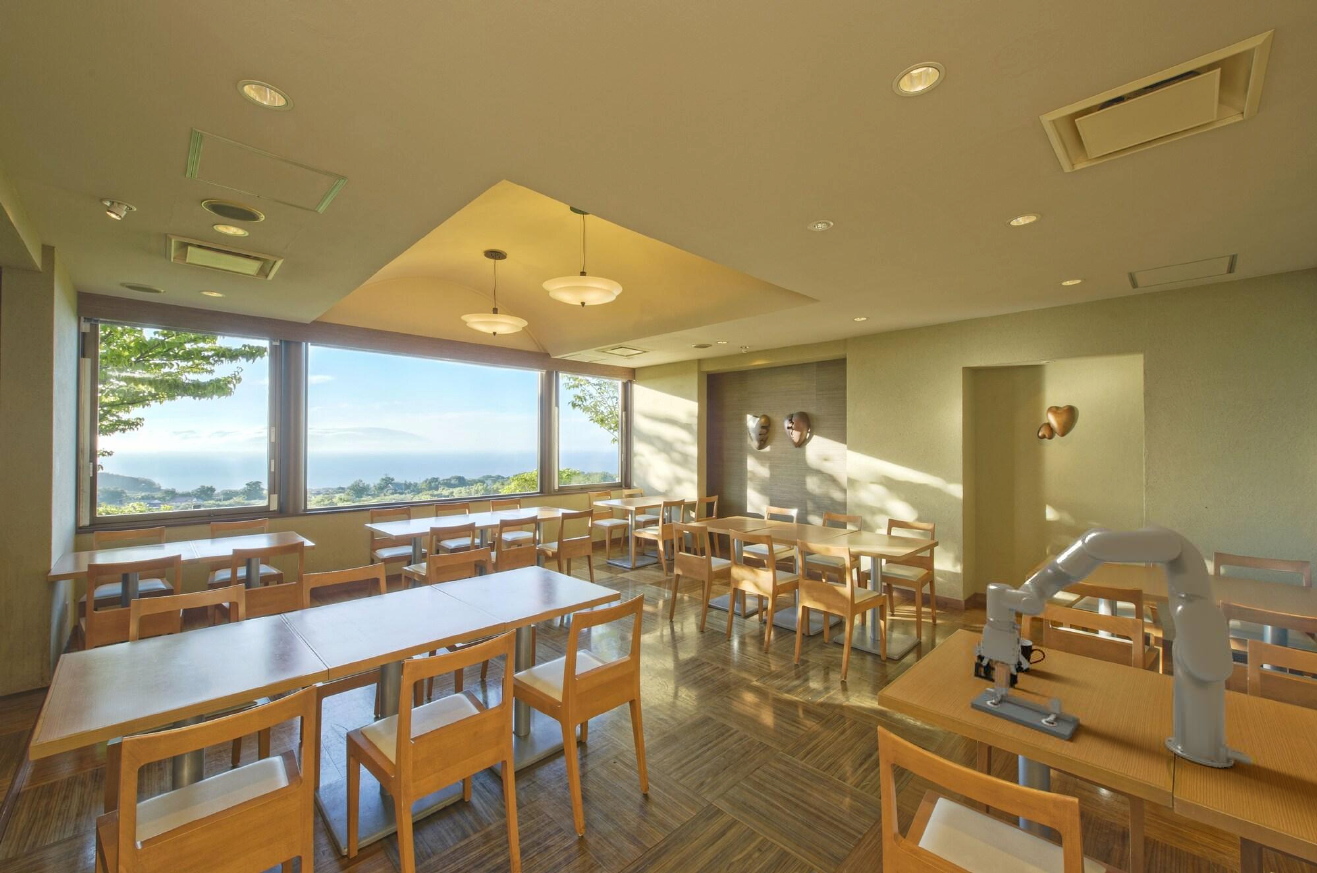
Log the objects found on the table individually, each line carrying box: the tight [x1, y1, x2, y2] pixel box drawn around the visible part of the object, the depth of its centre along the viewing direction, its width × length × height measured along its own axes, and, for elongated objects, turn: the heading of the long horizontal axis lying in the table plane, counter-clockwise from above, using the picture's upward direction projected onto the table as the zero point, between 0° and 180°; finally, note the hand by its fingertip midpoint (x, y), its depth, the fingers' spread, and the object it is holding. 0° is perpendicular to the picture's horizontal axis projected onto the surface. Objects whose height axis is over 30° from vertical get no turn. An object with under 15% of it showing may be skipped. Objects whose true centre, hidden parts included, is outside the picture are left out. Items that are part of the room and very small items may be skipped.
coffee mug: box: [1017, 637, 1046, 674], centre depth 191 cm, size 12×9×10 cm
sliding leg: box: [992, 663, 1010, 705], centre depth 165 cm, size 3×9×10 cm, turn 131°
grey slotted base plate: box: [970, 687, 1081, 742], centre depth 159 cm, size 24×14×6 cm, turn 41°
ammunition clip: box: [974, 641, 1011, 688], centre depth 182 cm, size 11×2×12 cm, turn 40°
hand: (1000, 681), depth 167 cm, fingers open, 6 cm apart
